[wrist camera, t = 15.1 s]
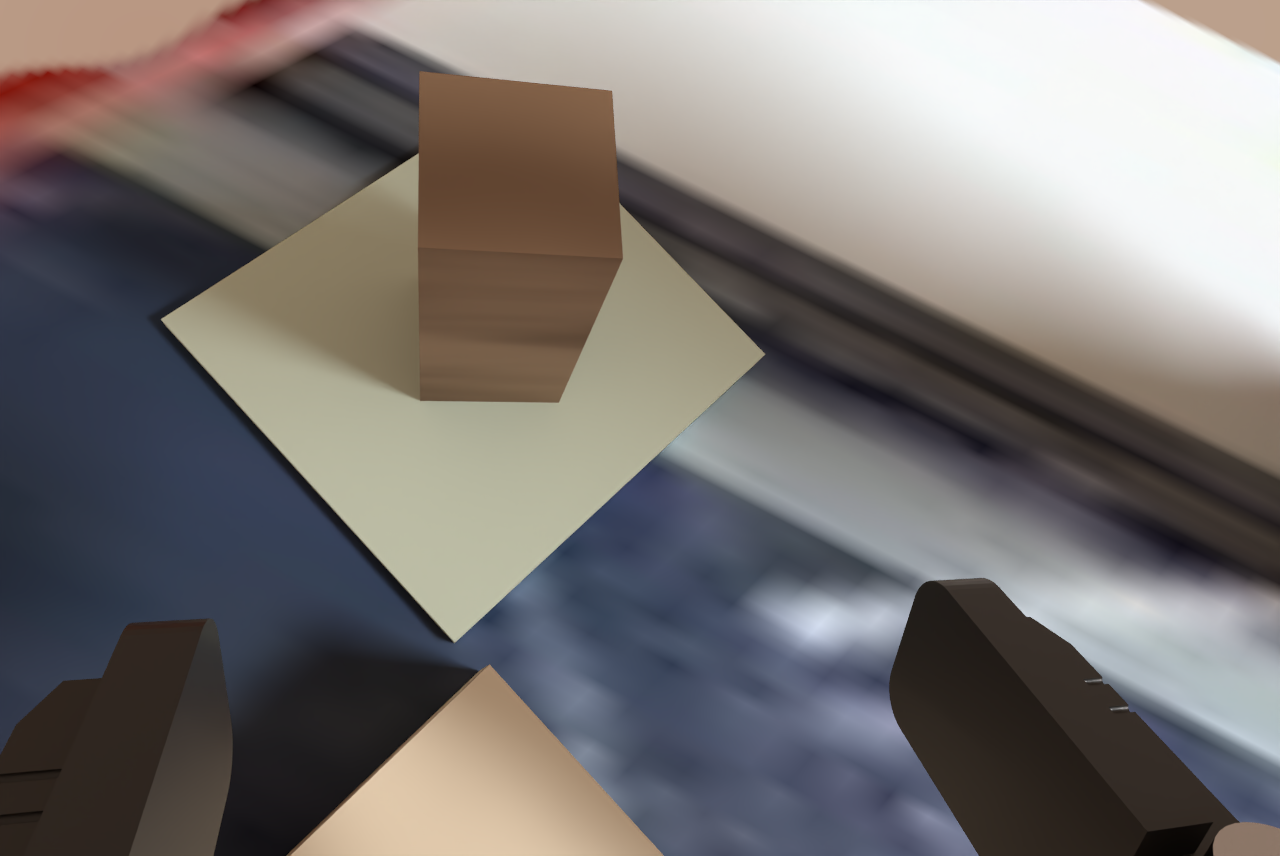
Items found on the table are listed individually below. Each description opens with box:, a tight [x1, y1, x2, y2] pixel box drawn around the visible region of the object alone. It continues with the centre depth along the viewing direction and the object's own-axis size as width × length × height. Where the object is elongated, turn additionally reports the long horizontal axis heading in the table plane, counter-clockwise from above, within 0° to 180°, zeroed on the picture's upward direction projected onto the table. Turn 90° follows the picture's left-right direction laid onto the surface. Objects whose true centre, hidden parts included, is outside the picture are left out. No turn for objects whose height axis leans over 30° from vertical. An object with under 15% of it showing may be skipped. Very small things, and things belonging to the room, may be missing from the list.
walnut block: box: [418, 71, 623, 403], centre depth 22 cm, size 4×4×9 cm
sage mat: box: [161, 154, 765, 643], centre depth 26 cm, size 13×12×1 cm
